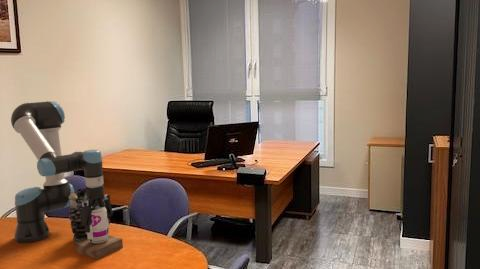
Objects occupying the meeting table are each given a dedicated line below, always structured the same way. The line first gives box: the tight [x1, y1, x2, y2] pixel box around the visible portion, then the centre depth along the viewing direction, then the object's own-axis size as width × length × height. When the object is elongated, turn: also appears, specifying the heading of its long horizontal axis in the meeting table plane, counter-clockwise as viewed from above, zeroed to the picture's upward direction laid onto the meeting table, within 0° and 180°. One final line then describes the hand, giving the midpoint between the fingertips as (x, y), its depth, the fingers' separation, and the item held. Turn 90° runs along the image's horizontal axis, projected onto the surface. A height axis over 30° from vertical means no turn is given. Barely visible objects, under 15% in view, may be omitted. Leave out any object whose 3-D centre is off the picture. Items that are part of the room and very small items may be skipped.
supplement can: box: [89, 206, 109, 244], centre depth 186 cm, size 8×8×15 cm
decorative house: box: [68, 188, 106, 244], centre depth 201 cm, size 21×15×25 cm
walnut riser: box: [75, 234, 124, 260], centre depth 187 cm, size 14×14×4 cm
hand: (98, 235), depth 187 cm, fingers closed on supplement can, 8 cm apart
